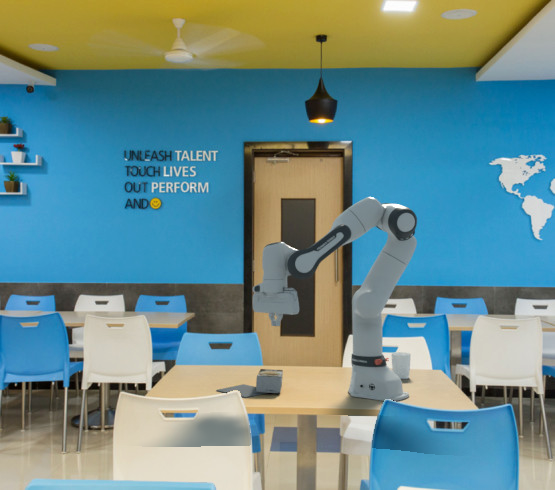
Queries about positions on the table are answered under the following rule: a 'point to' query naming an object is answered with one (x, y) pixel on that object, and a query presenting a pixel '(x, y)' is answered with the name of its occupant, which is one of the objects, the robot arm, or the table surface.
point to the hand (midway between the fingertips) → (275, 326)
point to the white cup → (401, 364)
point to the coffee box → (269, 381)
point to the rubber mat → (242, 390)
